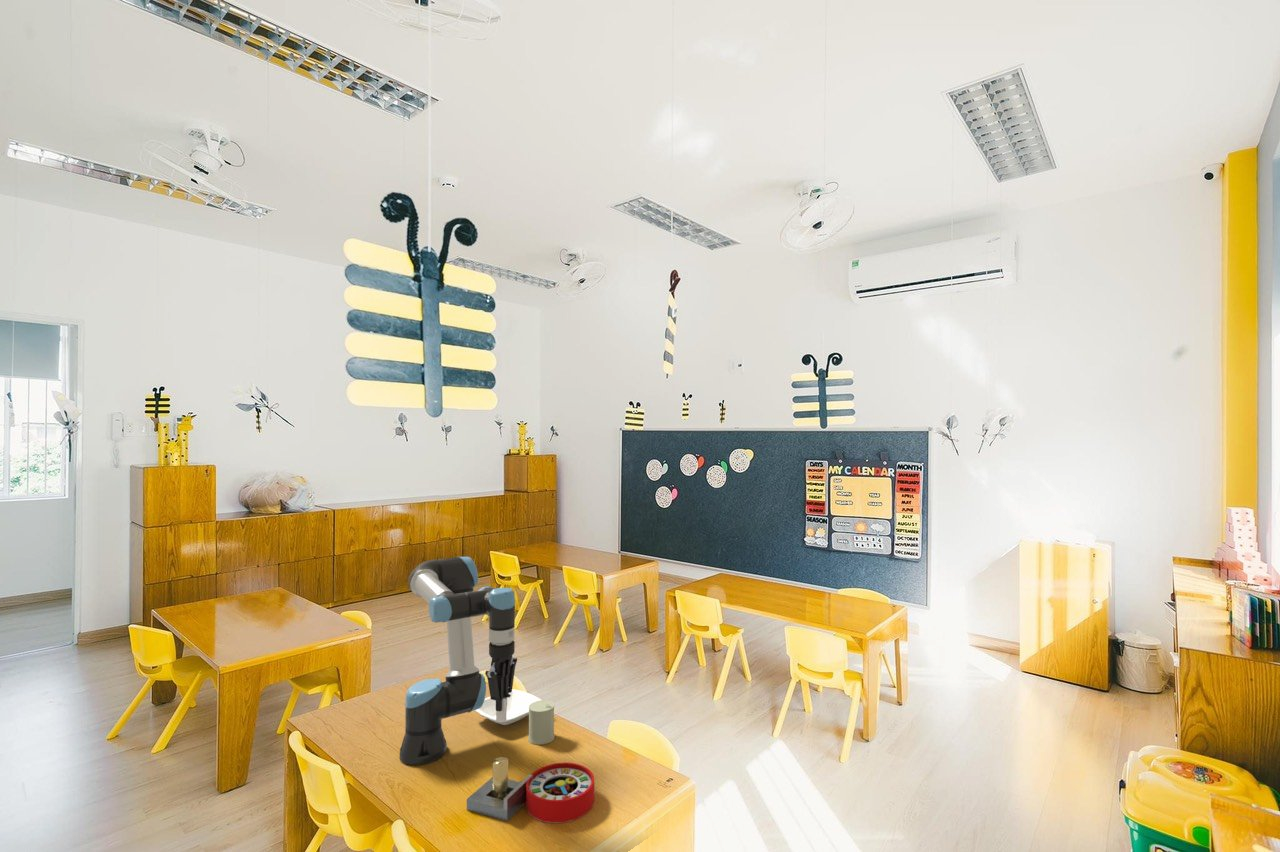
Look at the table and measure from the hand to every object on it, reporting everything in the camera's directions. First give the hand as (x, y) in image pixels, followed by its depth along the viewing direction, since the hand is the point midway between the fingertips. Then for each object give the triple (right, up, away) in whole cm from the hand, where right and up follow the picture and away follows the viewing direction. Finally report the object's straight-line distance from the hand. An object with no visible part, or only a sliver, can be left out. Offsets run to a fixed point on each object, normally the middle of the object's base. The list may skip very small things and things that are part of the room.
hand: (501, 719), depth 176 cm
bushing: (+1, -22, -4) cm, 23 cm away
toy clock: (+18, -22, -3) cm, 29 cm away
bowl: (-9, -25, +49) cm, 55 cm away
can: (+6, -24, +34) cm, 42 cm away
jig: (+1, -22, -4) cm, 23 cm away
